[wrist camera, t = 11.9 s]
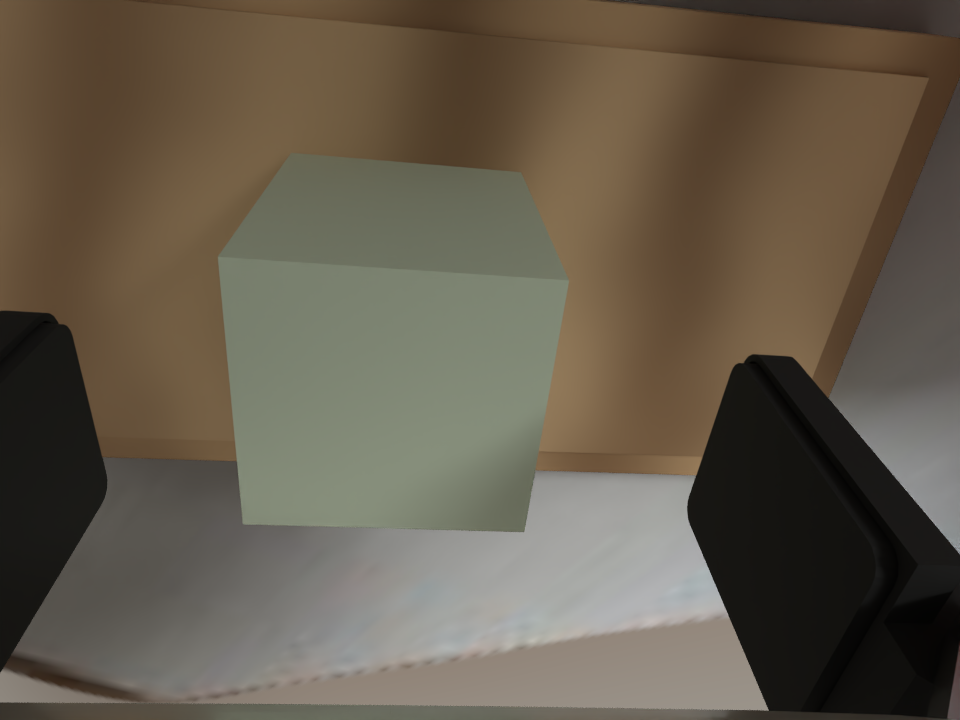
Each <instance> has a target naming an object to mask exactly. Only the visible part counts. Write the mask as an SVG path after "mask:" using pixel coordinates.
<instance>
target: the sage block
mask: <svg viewBox="0 0 960 720" xmlns="http://www.w3.org/2000/svg"><path fill="white" fill-rule="evenodd" d="M218 265H219V276H220V286H221V297H222V308H223V318H224V329H225V340H226V350H227V361H228V371H229V382H230V393H231V403H232V414H233V425H234V435H235V446H236V457H237V467H238V478H239V489H240V499H241V510H242V521H243V524H247V525H284V526H321V527H357V528H394V529H431V530H468V531H504V532H524V530H525V525H526V519H527V513H528V508H529V502H530V497H531V491H532V486H533V480H534V474H535V469H536V463H537V458H538V452H539V446H540V441H541V435H542V430H543V424H544V419H545V413H546V407H547V402H548V396H549V391H550V385H551V379H552V374H553V368H554V363H555V357H556V351H557V346H558V340H559V335H560V329H561V324H562V318H563V312H564V307H565V301H566V296H567V290H568V284H569V279H568V277H567V275H566V272H565V270H564V268H563V266H562V263H561V261H560V259H559V257H558V254H557V252H556V250H555V248H554V245H553V243H552V241H551V239H550V236H549V234H548V232H547V230H546V227H545V225H544V223H543V221H542V218H541V216H540V214H539V212H538V209H537V207H536V205H535V203H534V200H533V198H532V196H531V194H530V191H529V189H528V187H527V185H526V182H525V180H524V178H523V176H522V173H521V172H513V171H501V170H489V169H477V168H466V167H454V166H442V165H430V164H418V163H406V162H395V161H383V160H371V159H359V158H347V157H335V156H324V155H312V154H300V153H291V154H290V155H289V157H288V158H287V159H286V161H285V162H284V164H283V165H282V166H281V168H280V169H279V171H278V172H277V174H276V175H275V176H274V178H273V179H272V181H271V182H270V183H269V185H268V186H267V188H266V189H265V191H264V192H263V193H262V195H261V196H260V198H259V199H258V200H257V202H256V203H255V205H254V206H253V208H252V209H251V210H250V212H249V213H248V215H247V216H246V217H245V219H244V220H243V222H242V223H241V225H240V226H239V227H238V229H237V230H236V232H235V233H234V234H233V236H232V237H231V239H230V240H229V242H228V243H227V244H226V246H225V247H224V249H223V250H222V251H221V253H220V254H219V256H218Z"/></svg>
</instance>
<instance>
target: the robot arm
mask: <svg viewBox="0 0 960 720" xmlns="http://www.w3.org/2000/svg"><path fill="white" fill-rule="evenodd" d="M106 490H107V475H106V470H105V466H104V462H103V458H102V454H101V450H100V446H99V442H98V438H97V434H96V429H95V425H94V421H93V417H92V413H91V409H90V405H89V401H88V397H87V393H86V389H85V384H84V380H83V376H82V372H81V368H80V364H79V360H78V356H77V352H76V348H75V344H74V339H73V336H72V333H71V330H70V329H69V328H68V326H66V325H64V324H59V323H58V321H57V320H56V318H55V317H54V316H53V315H52V314H50V313H41V312H24V311H0V672H1V671H2V669H3V667H4V666H5V664H6V662H7V661H8V659H9V657H10V656H11V654H12V652H13V651H14V649H15V647H16V646H17V644H18V642H19V641H20V639H21V637H22V636H23V634H24V632H25V631H26V629H27V627H28V626H29V624H30V622H31V621H32V619H33V617H34V616H35V614H36V612H37V611H38V609H39V607H40V606H41V604H42V602H43V601H44V599H45V597H46V596H47V594H48V592H49V591H50V589H51V587H52V586H53V584H54V583H55V581H56V579H57V578H58V576H59V574H60V573H61V571H62V569H63V568H64V566H65V564H66V563H67V561H68V559H69V558H70V556H71V554H72V553H73V551H74V549H75V548H76V546H77V544H78V543H79V541H80V539H81V538H82V536H83V534H84V533H85V531H86V529H87V528H88V526H89V524H90V523H91V521H92V519H93V518H94V516H95V514H96V513H97V511H98V509H99V508H100V506H101V504H102V502H103V500H104V498H105V495H106ZM687 512H688V520H689V523H690V526H691V528H692V530H693V533H694V535H695V537H696V540H697V542H698V544H699V547H700V549H701V551H702V554H703V556H704V559H705V561H706V563H707V566H708V568H709V570H710V573H711V575H712V577H713V580H714V582H715V584H716V587H717V589H718V592H719V594H720V596H721V599H722V601H723V603H724V606H725V608H726V610H727V613H728V615H729V617H730V620H731V622H732V625H733V627H734V629H735V631H736V634H737V636H738V639H739V641H740V643H741V646H742V648H743V650H744V653H745V655H746V658H747V660H748V662H749V664H750V667H751V669H752V672H753V674H754V676H755V679H756V681H757V683H758V686H759V688H760V691H761V693H762V695H763V698H764V700H765V702H766V705H767V707H768V709H769V711H760V710H759V711H758V710H697V709H636V708H635V709H634V708H633V709H632V708H572V707H571V708H569V707H500V706H497V707H496V706H409V705H408V706H407V705H406V706H405V705H311V704H298V705H297V704H174V703H0V720H960V554H959V553H958V552H957V551H956V549H955V548H954V547H953V546H952V545H951V544H950V542H949V541H948V540H947V539H946V538H945V536H944V535H943V534H942V533H941V532H940V530H939V529H938V528H937V527H936V526H935V524H934V523H933V522H932V521H931V520H930V519H929V517H928V516H927V515H926V514H925V513H924V511H923V510H922V509H921V508H920V507H919V505H918V504H917V503H916V502H915V501H914V500H913V498H912V497H911V496H910V495H909V494H908V492H907V491H906V490H905V489H904V488H903V486H902V485H901V484H900V483H899V482H898V481H897V479H896V478H895V477H894V476H893V475H892V473H891V472H890V471H889V470H888V469H887V467H886V466H885V465H884V464H883V463H882V462H881V460H880V459H879V458H878V457H877V456H876V454H875V453H874V452H873V451H872V450H871V448H870V447H869V446H868V445H867V444H866V443H865V441H864V440H863V439H862V438H861V437H860V435H859V434H858V433H857V432H856V431H855V429H854V428H853V427H852V426H851V425H850V423H849V422H848V421H847V420H846V419H845V418H844V416H843V415H842V414H841V413H840V412H839V410H838V409H837V408H836V407H835V406H834V404H833V403H832V402H831V401H830V400H829V399H828V397H827V396H826V395H825V394H824V393H823V391H822V390H821V389H820V388H819V387H818V385H817V384H816V383H815V382H814V381H813V380H812V378H811V377H810V376H809V375H808V374H807V372H806V371H805V370H804V369H803V368H802V366H801V365H800V364H799V363H798V362H797V361H796V360H795V359H794V358H793V357H790V356H776V355H759V354H752V355H750V356H748V357H747V358H746V360H745V361H744V363H738V364H736V365H735V366H734V367H733V369H732V371H731V373H730V376H729V379H728V382H727V385H726V388H725V391H724V394H723V397H722V400H721V403H720V406H719V409H718V412H717V415H716V418H715V421H714V424H713V427H712V430H711V433H710V436H709V439H708V442H707V445H706V448H705V451H704V454H703V457H702V460H701V463H700V466H699V469H698V472H697V475H696V478H695V481H694V484H693V487H692V490H691V493H690V496H689V499H688V506H687Z"/></svg>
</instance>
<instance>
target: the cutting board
mask: <svg viewBox="0 0 960 720" xmlns="http://www.w3.org/2000/svg"><path fill="white" fill-rule="evenodd" d="M959 78H960V38H956V37H949V36H942V35H935V34H927V33H918V32H908V31H898V30H889V29H879V28H869V27H860V26H850V25H840V24H831V23H821V22H811V21H802V20H792V19H782V18H773V17H763V16H753V15H744V14H734V13H725V12H715V11H705V10H696V9H686V8H676V7H667V6H657V5H647V4H638V3H628V2H618V1H609V0H0V311H24V312H41V313H50V314H52V315H53V316H54V317H55V318H56V320H57V321H58V323H59V324H64V325H66V326H68V328H69V329H70V330H71V333H72V336H73V339H74V344H75V348H76V352H77V356H78V360H79V364H80V368H81V372H82V376H83V380H84V384H85V389H86V393H87V397H88V401H89V405H90V409H91V413H92V417H93V421H94V425H95V429H96V434H97V438H98V442H99V446H100V450H101V454H102V457H114V458H147V459H180V460H213V461H237V457H236V446H235V435H234V425H233V414H232V403H231V393H230V382H229V371H228V361H227V350H226V340H225V329H224V318H223V308H222V297H221V286H220V276H219V265H218V256H219V254H220V253H221V251H222V250H223V249H224V247H225V246H226V244H227V243H228V242H229V240H230V239H231V237H232V236H233V234H234V233H235V232H236V230H237V229H238V227H239V226H240V225H241V223H242V222H243V220H244V219H245V217H246V216H247V215H248V213H249V212H250V210H251V209H252V208H253V206H254V205H255V203H256V202H257V200H258V199H259V198H260V196H261V195H262V193H263V192H264V191H265V189H266V188H267V186H268V185H269V183H270V182H271V181H272V179H273V178H274V176H275V175H276V174H277V172H278V171H279V169H280V168H281V166H282V165H283V164H284V162H285V161H286V159H287V158H288V157H289V155H290V154H291V153H300V154H312V155H324V156H335V157H347V158H359V159H371V160H383V161H395V162H406V163H418V164H430V165H442V166H454V167H466V168H477V169H489V170H501V171H513V172H521V173H522V176H523V178H524V180H525V182H526V185H527V187H528V189H529V191H530V194H531V196H532V198H533V200H534V203H535V205H536V207H537V209H538V212H539V214H540V216H541V218H542V221H543V223H544V225H545V227H546V230H547V232H548V234H549V236H550V239H551V241H552V243H553V245H554V248H555V250H556V252H557V254H558V257H559V259H560V261H561V263H562V266H563V268H564V270H565V272H566V275H567V277H568V279H569V284H568V290H567V296H566V301H565V307H564V312H563V318H562V324H561V329H560V335H559V340H558V346H557V351H556V357H555V363H554V368H553V374H552V379H551V385H550V391H549V396H548V402H547V407H546V413H545V419H544V424H543V430H542V435H541V441H540V446H539V452H538V458H537V463H536V469H535V470H543V471H576V472H608V473H641V474H674V475H697V472H698V469H699V466H700V463H701V460H702V457H703V454H704V451H705V448H706V445H707V442H708V439H709V436H710V433H711V430H712V427H713V424H714V421H715V418H716V415H717V412H718V409H719V406H720V403H721V400H722V397H723V394H724V391H725V388H726V385H727V382H728V379H729V376H730V373H731V371H732V369H733V367H734V366H735V365H736V364H738V363H744V361H745V360H746V358H747V357H748V356H750V355H752V354H759V355H776V356H790V357H793V358H794V359H795V360H796V361H797V362H798V363H799V364H800V365H801V366H802V368H803V369H804V370H805V371H806V372H807V374H808V375H809V376H810V377H811V378H812V380H813V381H814V382H815V383H816V384H817V385H818V387H819V388H820V389H821V390H822V391H823V393H824V394H825V395H826V396H827V397H828V398H829V395H830V393H831V390H832V388H833V385H834V383H835V380H836V378H837V376H838V373H839V371H840V368H841V366H842V363H843V361H844V359H845V356H846V354H847V351H848V349H849V346H850V344H851V341H852V339H853V337H854V334H855V332H856V329H857V327H858V324H859V322H860V320H861V317H862V315H863V312H864V310H865V307H866V305H867V302H868V300H869V298H870V295H871V293H872V290H873V288H874V285H875V283H876V281H877V278H878V276H879V273H880V271H881V268H882V266H883V263H884V261H885V259H886V256H887V254H888V251H889V249H890V246H891V244H892V242H893V239H894V237H895V234H896V232H897V229H898V227H899V225H900V222H901V220H902V217H903V215H904V212H905V210H906V207H907V205H908V203H909V200H910V198H911V195H912V193H913V190H914V188H915V186H916V183H917V181H918V178H919V176H920V173H921V171H922V168H923V166H924V164H925V161H926V159H927V156H928V154H929V151H930V149H931V147H932V144H933V142H934V139H935V137H936V134H937V132H938V129H939V127H940V125H941V122H942V120H943V117H944V115H945V112H946V110H947V108H948V105H949V103H950V100H951V98H952V95H953V93H954V90H955V88H956V86H957V83H958V81H959Z"/></svg>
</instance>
